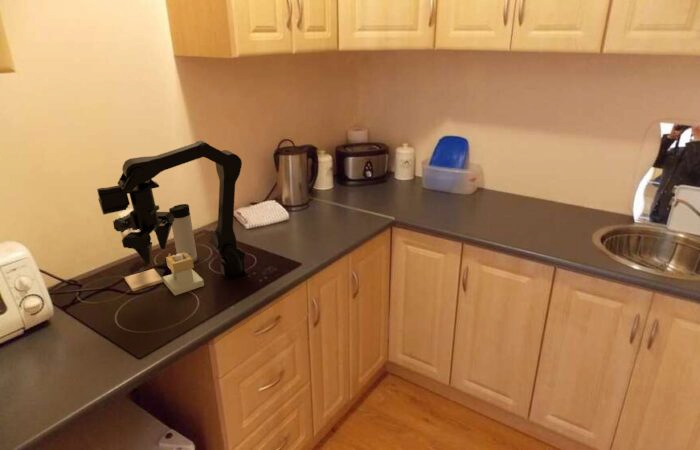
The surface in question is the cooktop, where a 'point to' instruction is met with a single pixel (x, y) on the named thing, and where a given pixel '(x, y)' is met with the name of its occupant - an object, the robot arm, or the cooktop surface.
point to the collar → (180, 263)
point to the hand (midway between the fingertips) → (155, 256)
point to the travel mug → (183, 230)
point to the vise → (183, 280)
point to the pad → (143, 279)
